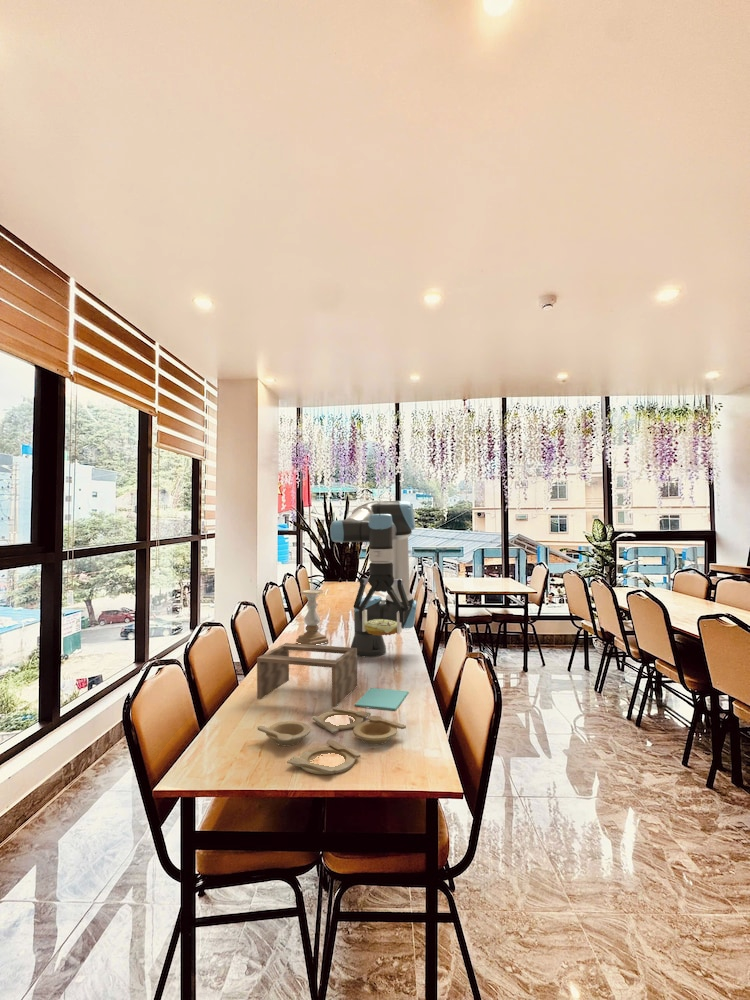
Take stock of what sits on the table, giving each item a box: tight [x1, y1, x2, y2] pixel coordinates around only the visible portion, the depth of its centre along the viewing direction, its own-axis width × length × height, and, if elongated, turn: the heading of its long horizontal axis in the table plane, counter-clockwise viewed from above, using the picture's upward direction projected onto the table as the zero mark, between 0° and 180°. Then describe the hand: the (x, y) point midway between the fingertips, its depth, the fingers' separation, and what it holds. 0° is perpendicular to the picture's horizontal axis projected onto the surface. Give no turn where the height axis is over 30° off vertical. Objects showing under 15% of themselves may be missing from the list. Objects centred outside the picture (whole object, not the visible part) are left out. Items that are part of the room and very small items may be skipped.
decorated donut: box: [365, 619, 397, 636], centre depth 166 cm, size 10×11×4 cm
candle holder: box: [295, 589, 329, 645], centre depth 240 cm, size 11×11×24 cm
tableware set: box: [256, 706, 407, 775], centre depth 136 cm, size 35×29×4 cm
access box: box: [256, 642, 358, 707], centre depth 173 cm, size 20×27×13 cm
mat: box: [354, 687, 409, 711], centre depth 165 cm, size 16×13×1 cm
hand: (381, 631), depth 166 cm, fingers closed on decorated donut, 11 cm apart
